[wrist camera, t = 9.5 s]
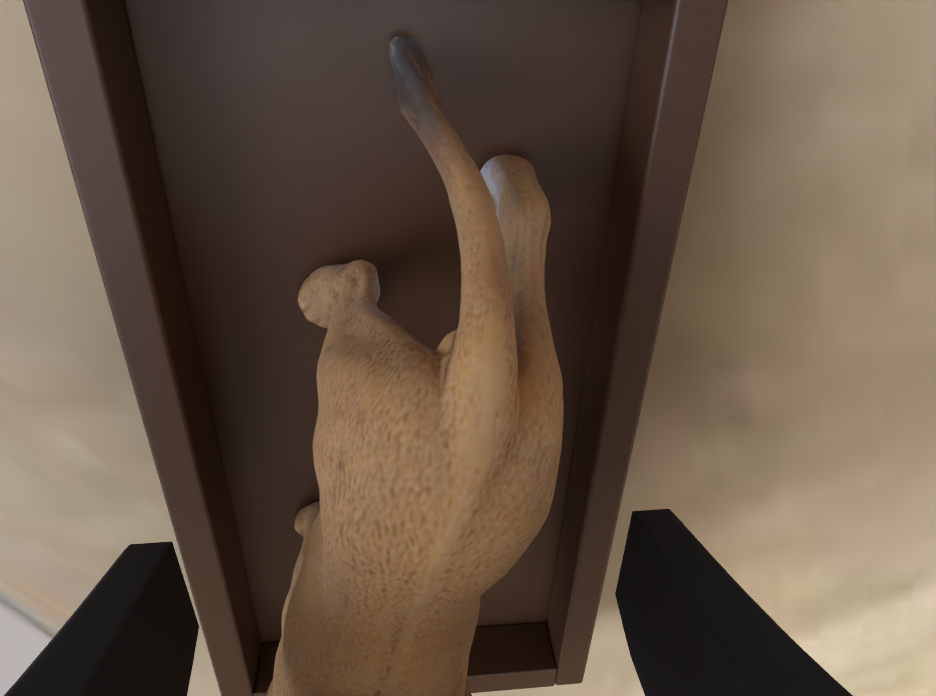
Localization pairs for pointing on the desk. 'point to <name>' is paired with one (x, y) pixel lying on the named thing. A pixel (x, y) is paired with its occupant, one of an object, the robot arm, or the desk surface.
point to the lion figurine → (425, 440)
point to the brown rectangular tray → (370, 255)
